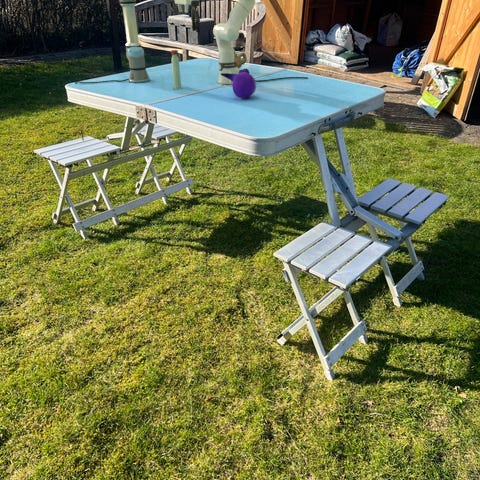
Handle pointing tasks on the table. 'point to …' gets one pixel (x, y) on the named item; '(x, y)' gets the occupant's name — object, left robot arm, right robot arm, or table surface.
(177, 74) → the bottle
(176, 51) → the cap
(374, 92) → the table surface
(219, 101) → the table surface
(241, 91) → the toy
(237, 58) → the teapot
